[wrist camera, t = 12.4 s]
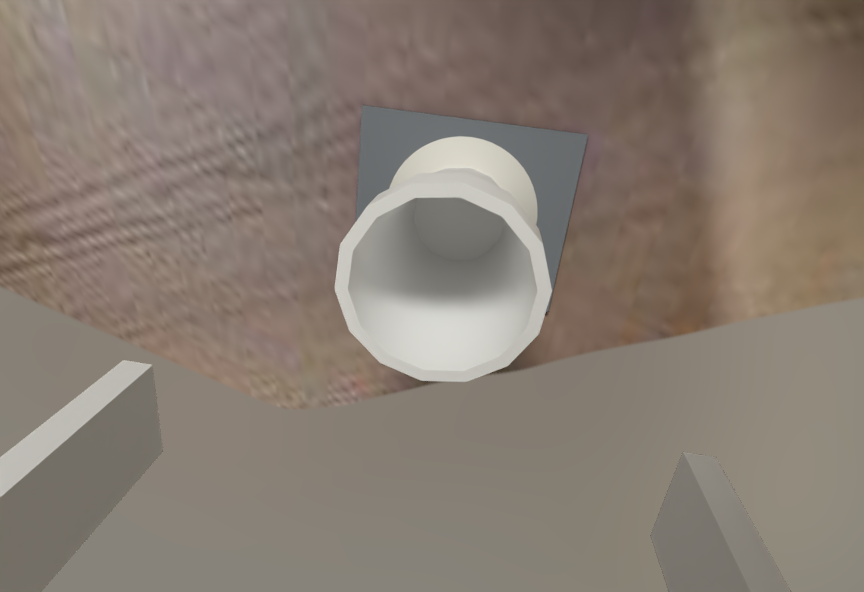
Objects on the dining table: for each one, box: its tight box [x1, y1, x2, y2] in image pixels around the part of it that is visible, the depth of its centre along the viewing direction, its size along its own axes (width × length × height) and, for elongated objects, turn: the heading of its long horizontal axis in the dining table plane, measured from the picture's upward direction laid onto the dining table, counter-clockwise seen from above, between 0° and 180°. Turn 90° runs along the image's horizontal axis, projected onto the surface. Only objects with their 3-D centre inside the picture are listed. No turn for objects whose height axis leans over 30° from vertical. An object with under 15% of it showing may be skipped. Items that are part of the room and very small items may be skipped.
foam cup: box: [335, 167, 552, 382], centre depth 29 cm, size 10×9×13 cm
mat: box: [355, 105, 588, 312], centre depth 35 cm, size 12×14×1 cm
